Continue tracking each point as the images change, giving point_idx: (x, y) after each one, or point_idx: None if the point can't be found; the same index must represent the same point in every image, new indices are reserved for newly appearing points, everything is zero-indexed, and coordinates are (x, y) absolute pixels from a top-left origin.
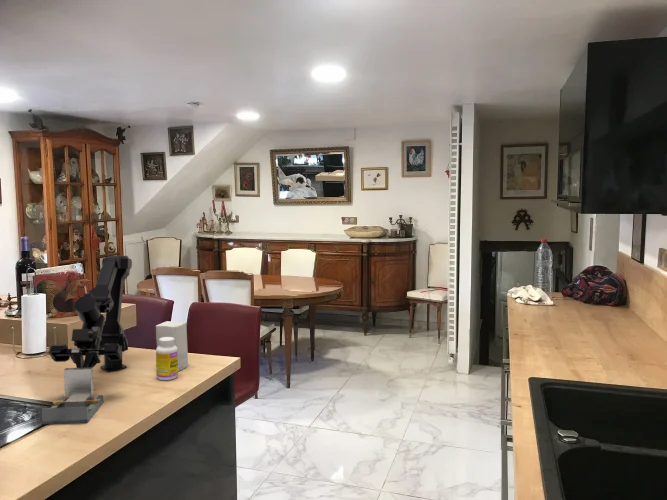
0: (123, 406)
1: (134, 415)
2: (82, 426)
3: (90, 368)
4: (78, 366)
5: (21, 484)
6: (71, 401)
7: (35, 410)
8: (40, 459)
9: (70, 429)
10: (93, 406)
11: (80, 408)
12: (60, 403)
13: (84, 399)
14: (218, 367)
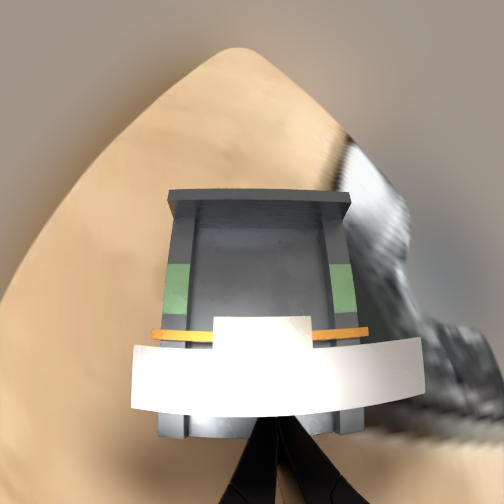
0: (80, 359)
1: (49, 268)
2: None
3: (143, 376)
4: (323, 484)
5: (239, 55)
6: (280, 320)
7: None
8: (241, 88)
9: (223, 186)
10: (167, 289)
11: (195, 190)
12: (337, 342)
13: (221, 342)
14: None
